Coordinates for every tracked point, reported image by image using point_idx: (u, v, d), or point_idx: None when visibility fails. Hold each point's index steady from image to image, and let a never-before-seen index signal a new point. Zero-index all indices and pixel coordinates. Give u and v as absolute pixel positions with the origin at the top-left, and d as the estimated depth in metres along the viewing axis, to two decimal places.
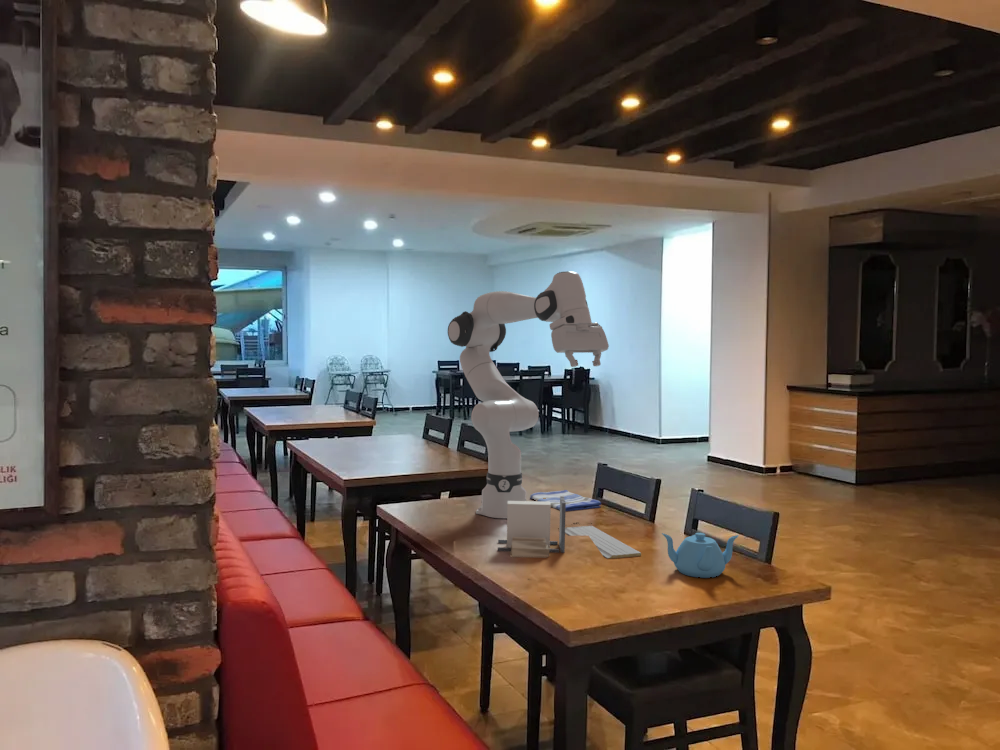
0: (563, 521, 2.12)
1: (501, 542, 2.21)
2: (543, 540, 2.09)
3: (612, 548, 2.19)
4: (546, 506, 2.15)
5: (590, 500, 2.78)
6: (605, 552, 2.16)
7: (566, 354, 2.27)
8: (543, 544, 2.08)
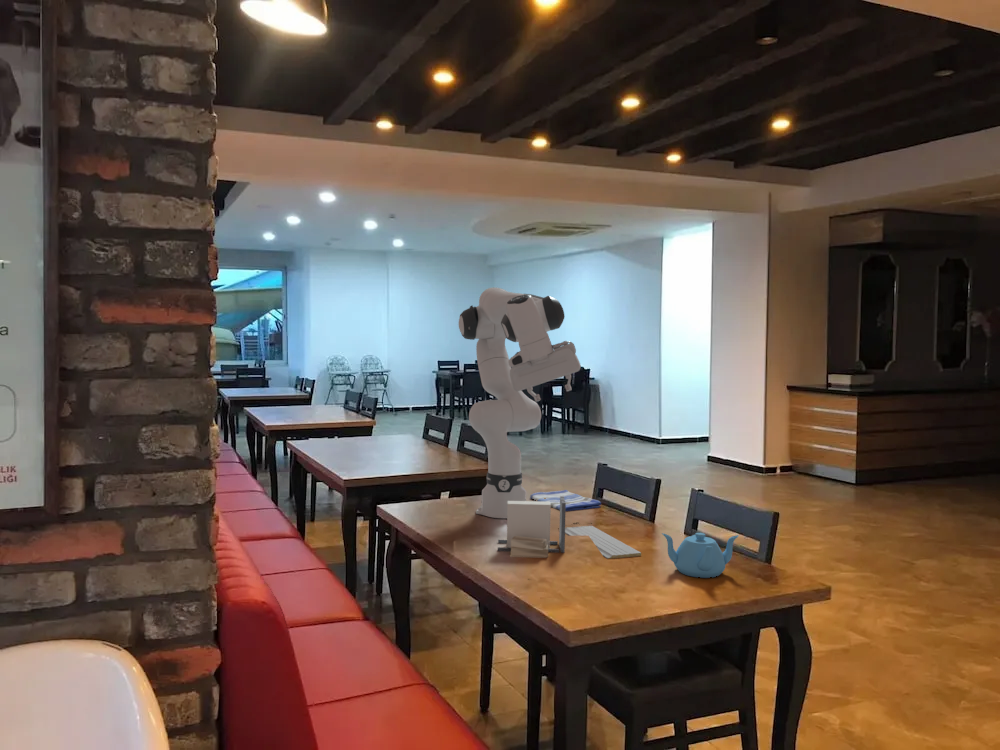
0: (563, 521, 2.12)
1: (501, 542, 2.21)
2: (542, 541, 2.08)
3: (612, 548, 2.19)
4: (546, 506, 2.15)
5: (590, 500, 2.78)
6: (605, 552, 2.16)
7: None
8: (540, 545, 2.07)
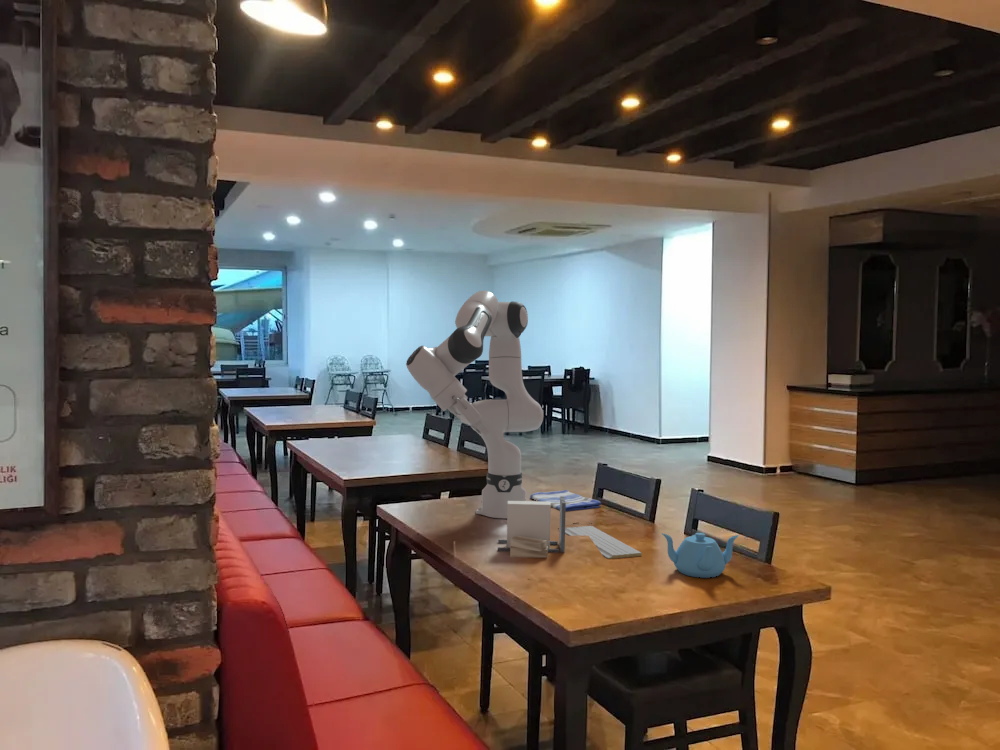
0: (563, 521, 2.12)
1: (501, 542, 2.21)
2: (540, 542, 2.07)
3: (612, 548, 2.19)
4: (546, 506, 2.15)
5: (590, 500, 2.78)
6: (605, 552, 2.16)
7: None
8: (538, 546, 2.06)
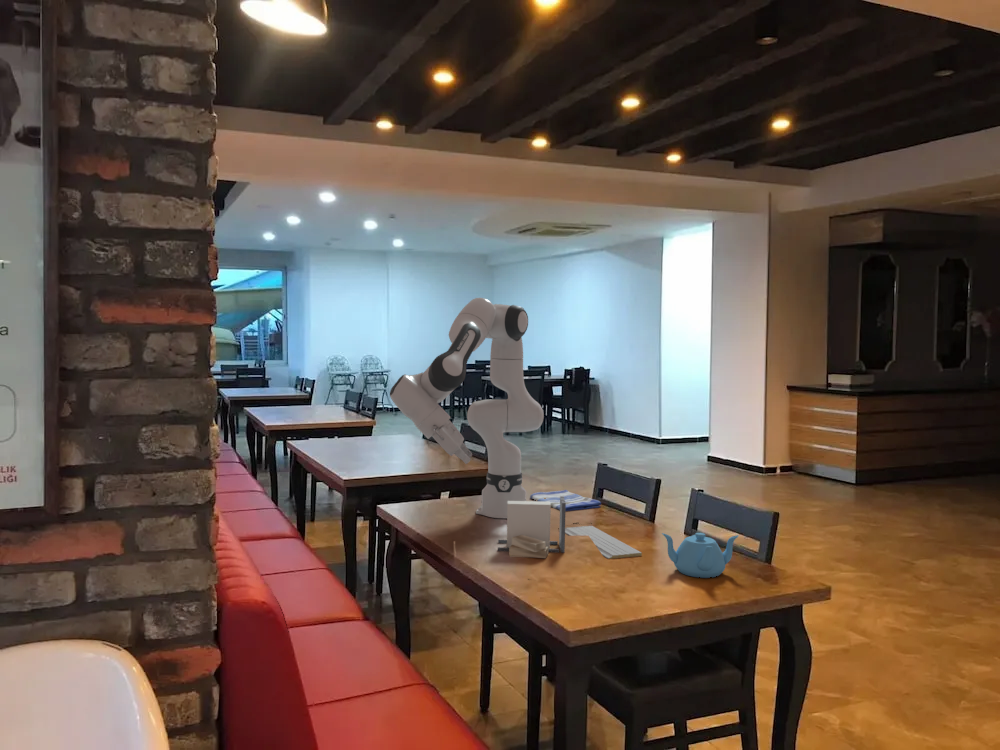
0: (563, 521, 2.12)
1: (501, 542, 2.21)
2: (537, 543, 2.06)
3: (613, 548, 2.19)
4: (546, 506, 2.15)
5: (590, 500, 2.78)
6: (606, 552, 2.16)
7: None
8: (533, 546, 2.05)
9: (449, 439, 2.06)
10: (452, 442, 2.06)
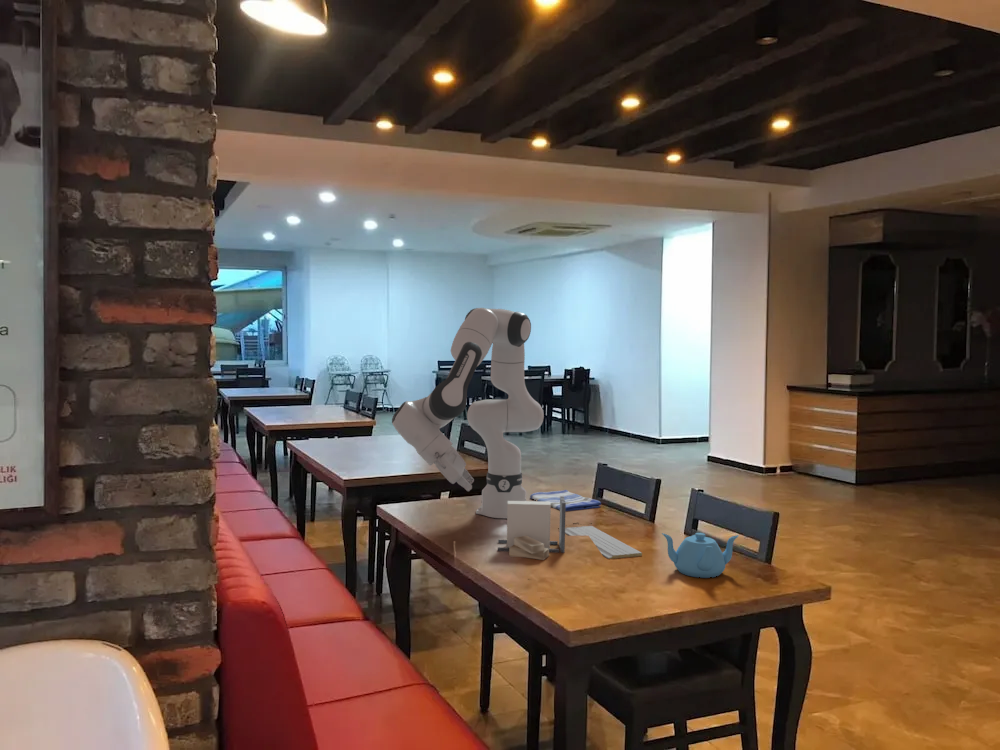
0: (563, 521, 2.12)
1: (501, 542, 2.21)
2: (535, 544, 2.05)
3: (613, 548, 2.19)
4: (546, 506, 2.15)
5: (590, 500, 2.78)
6: (606, 552, 2.16)
7: None
8: (530, 548, 2.05)
9: (451, 467, 2.07)
10: (454, 471, 2.06)
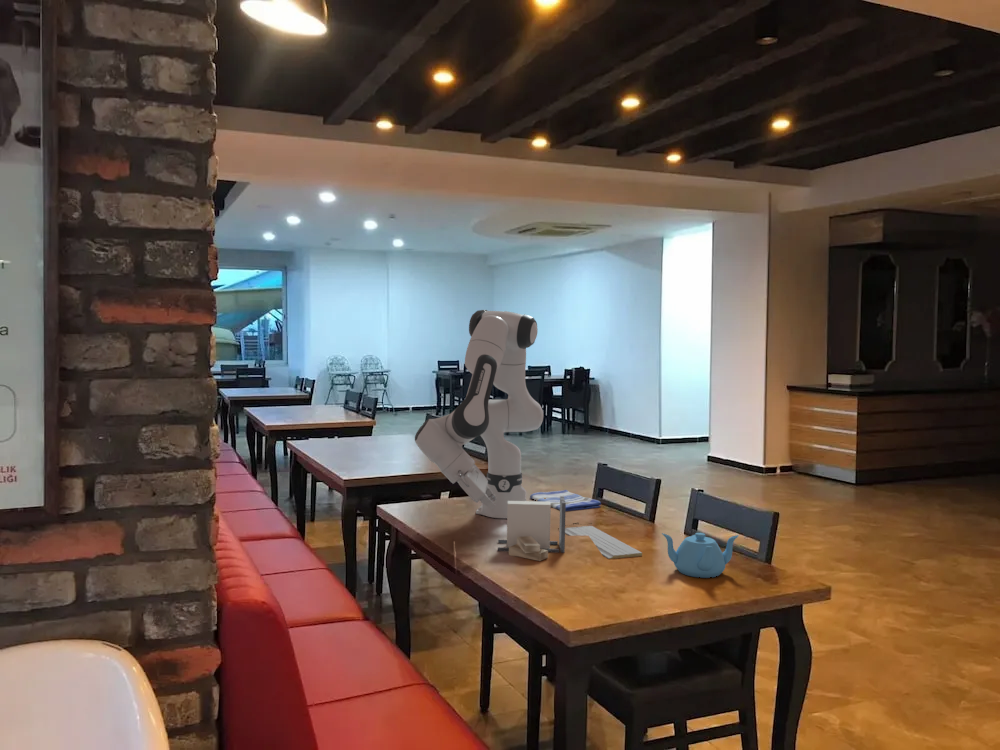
0: (563, 521, 2.12)
1: (501, 542, 2.21)
2: (530, 544, 2.05)
3: (613, 548, 2.19)
4: (546, 506, 2.15)
5: (590, 500, 2.78)
6: (606, 552, 2.16)
7: None
8: (524, 547, 2.05)
9: (474, 486, 2.07)
10: (477, 489, 2.07)
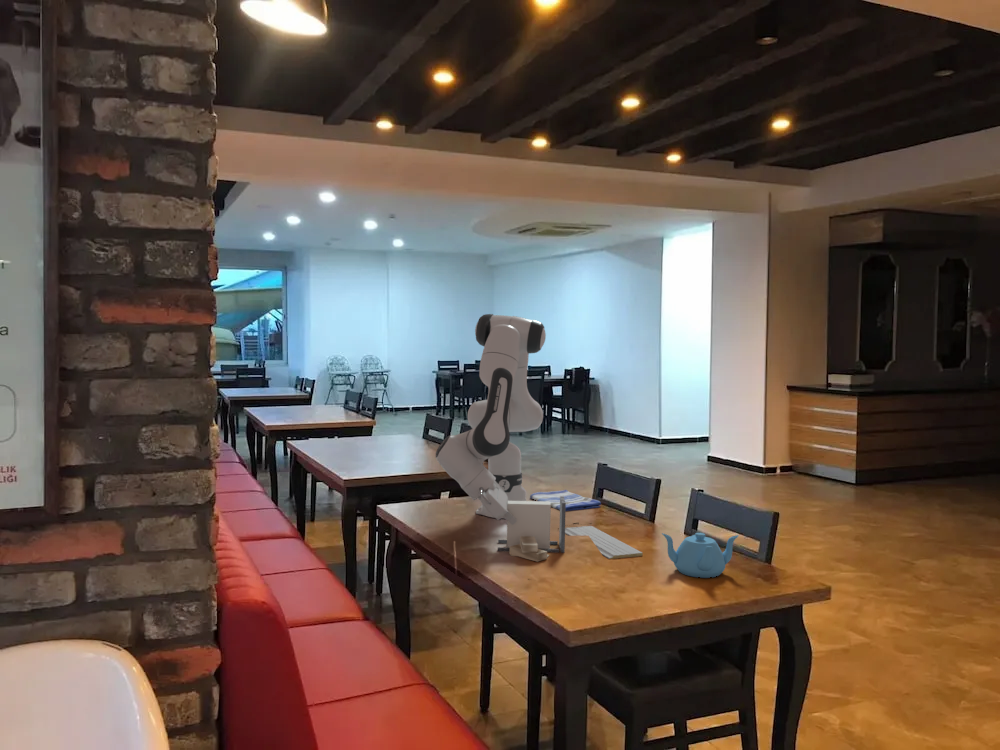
0: (563, 521, 2.12)
1: (501, 542, 2.21)
2: (528, 544, 2.05)
3: (613, 548, 2.19)
4: (546, 506, 2.15)
5: (590, 500, 2.78)
6: (607, 552, 2.16)
7: None
8: (522, 546, 2.05)
9: (496, 503, 2.07)
10: (499, 506, 2.07)
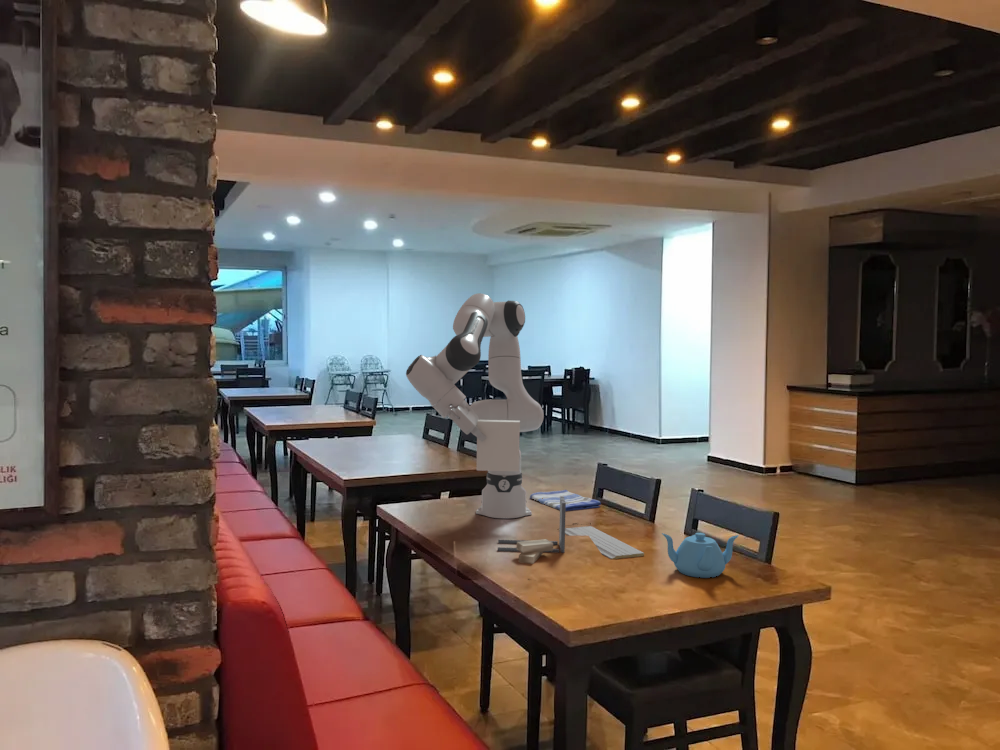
0: (563, 521, 2.12)
1: (501, 542, 2.21)
2: (520, 543, 2.07)
3: (615, 548, 2.19)
4: (515, 423, 2.17)
5: (590, 500, 2.78)
6: (608, 552, 2.15)
7: None
8: None
9: (465, 418, 2.10)
10: (468, 421, 2.10)
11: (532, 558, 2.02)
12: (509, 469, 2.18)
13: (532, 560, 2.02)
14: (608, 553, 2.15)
